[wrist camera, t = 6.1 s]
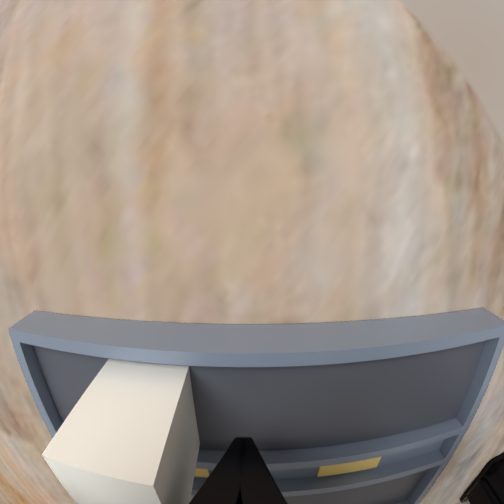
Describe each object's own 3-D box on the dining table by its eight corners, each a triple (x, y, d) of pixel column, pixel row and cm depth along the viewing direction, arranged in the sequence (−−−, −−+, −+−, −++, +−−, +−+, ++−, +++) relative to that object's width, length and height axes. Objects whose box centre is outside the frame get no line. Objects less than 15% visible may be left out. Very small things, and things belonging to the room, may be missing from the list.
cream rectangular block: (189, 366, 10) (152, 485, 5) (199, 442, 10) (182, 545, 6) (108, 359, 10) (42, 454, 5) (131, 434, 10) (94, 524, 6)
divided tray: (483, 307, 11) (509, 324, 9) (406, 489, 14) (414, 508, 12) (34, 310, 11) (8, 328, 9) (110, 493, 14) (103, 514, 12)
